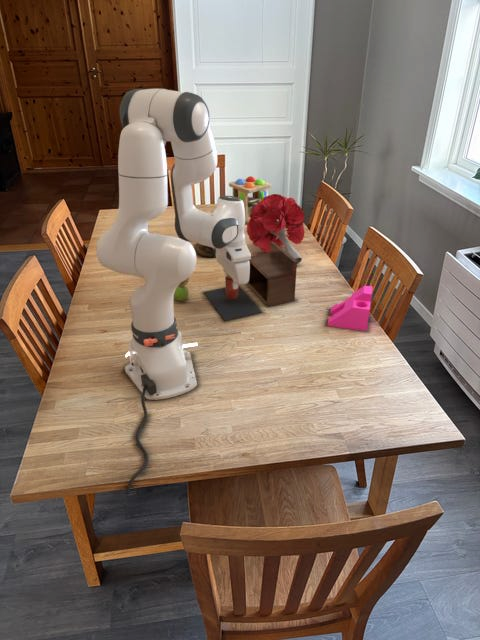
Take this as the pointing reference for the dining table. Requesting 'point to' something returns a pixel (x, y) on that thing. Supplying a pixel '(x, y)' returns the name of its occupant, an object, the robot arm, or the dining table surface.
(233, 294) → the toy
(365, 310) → the bracket
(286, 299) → the open-top box
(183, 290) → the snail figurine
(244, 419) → the dining table surface
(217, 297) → the felt mat
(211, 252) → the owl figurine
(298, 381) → the dining table surface
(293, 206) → the bouquet
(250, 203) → the pounding bench toy
